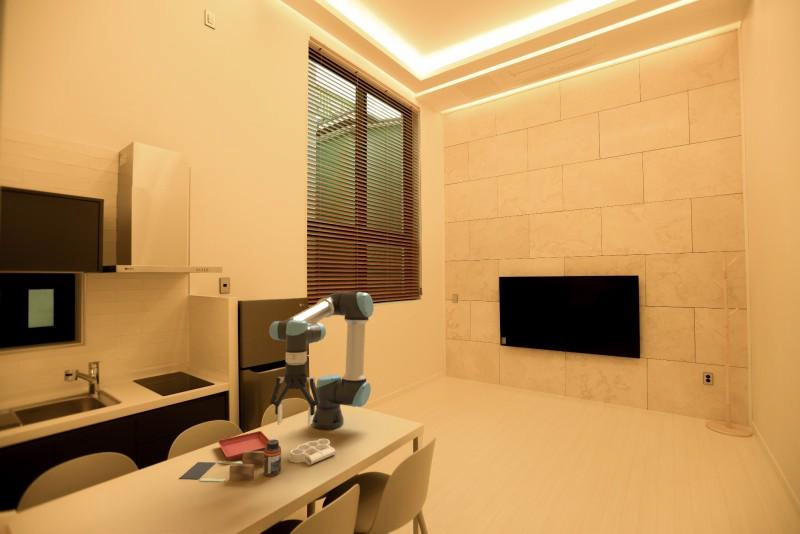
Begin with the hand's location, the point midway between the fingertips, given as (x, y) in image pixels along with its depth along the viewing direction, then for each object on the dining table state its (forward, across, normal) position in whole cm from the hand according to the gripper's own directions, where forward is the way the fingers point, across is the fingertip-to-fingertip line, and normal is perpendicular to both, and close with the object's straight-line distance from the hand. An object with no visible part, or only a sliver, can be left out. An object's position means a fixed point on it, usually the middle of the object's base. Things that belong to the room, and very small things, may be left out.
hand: (294, 423), depth 140 cm
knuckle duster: (+19, +3, +15) cm, 24 cm away
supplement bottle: (+18, -8, 0) cm, 20 cm away
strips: (+18, -27, 0) cm, 32 cm away
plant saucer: (+18, -26, +18) cm, 36 cm away
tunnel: (+18, -17, 0) cm, 25 cm away
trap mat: (+18, -35, 0) cm, 40 cm away
